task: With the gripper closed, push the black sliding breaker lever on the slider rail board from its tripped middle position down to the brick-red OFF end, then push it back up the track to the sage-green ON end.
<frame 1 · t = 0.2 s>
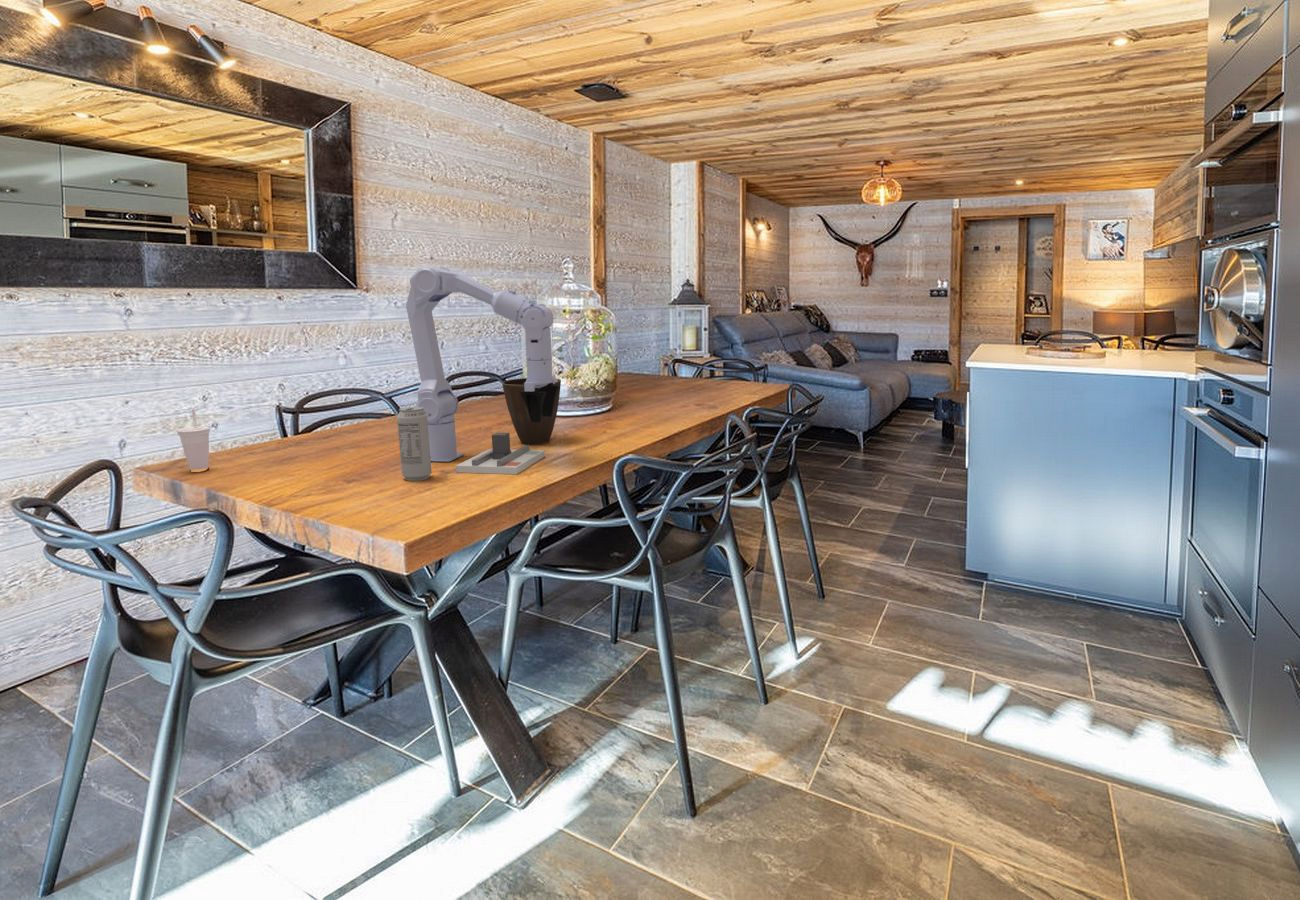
hand: (541, 419, 175), 10 cm above the table, fingers open, 7 cm apart
plant pot: (534, 442, 199), on the table
slider rail board: (502, 464, 174), on the table
energy drink can: (417, 479, 162), on the table
breaker lever: (501, 445, 173), point 4 cm above the table, slide at 6.0 cm
smoothie: (199, 471, 173), on the table
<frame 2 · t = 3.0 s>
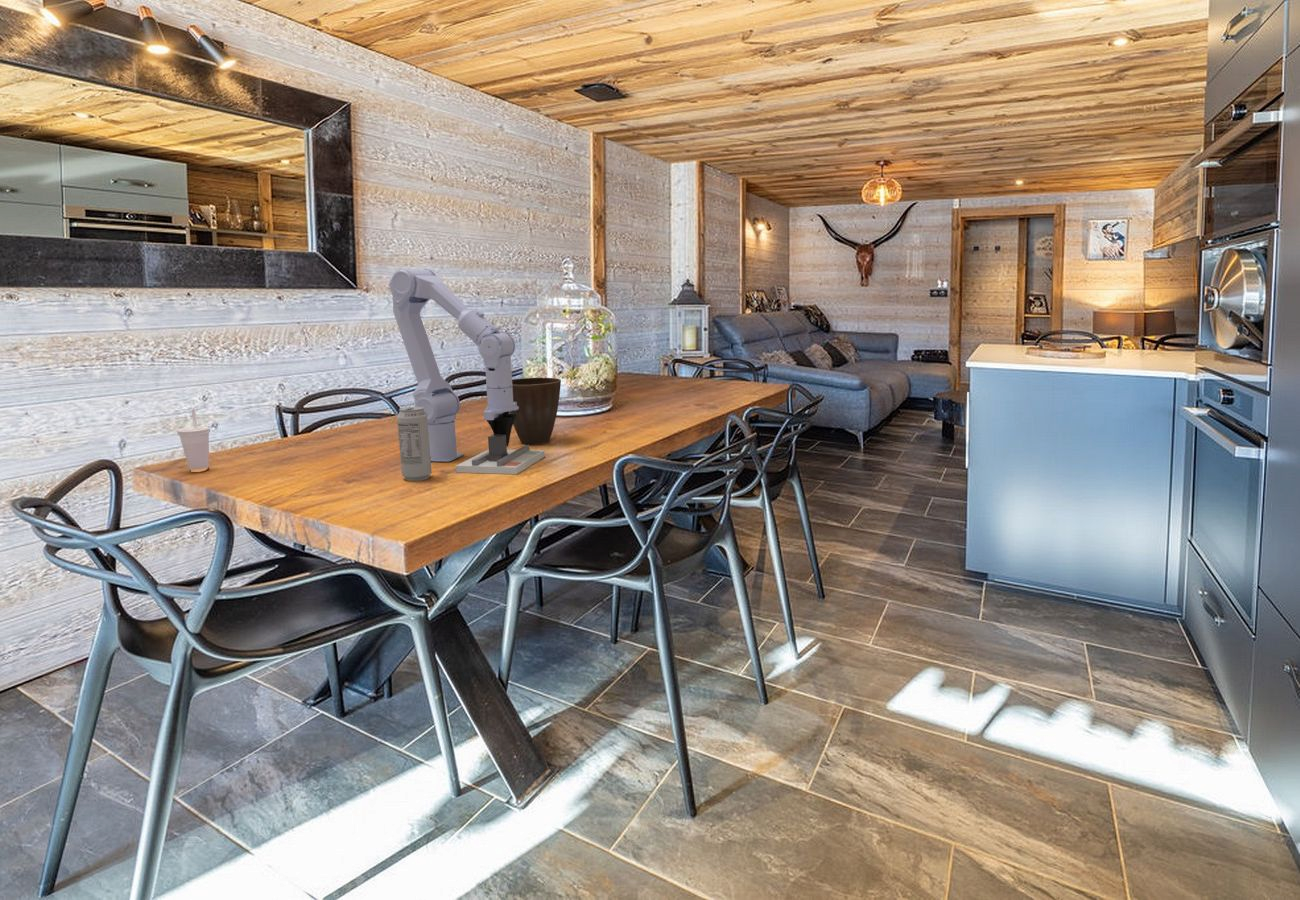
hand: (503, 446, 174), 4 cm above the table, fingers closed
breaker lever: (497, 447, 171), point 4 cm above the table, slide at 4.0 cm, touching gripper
everything else where it was.
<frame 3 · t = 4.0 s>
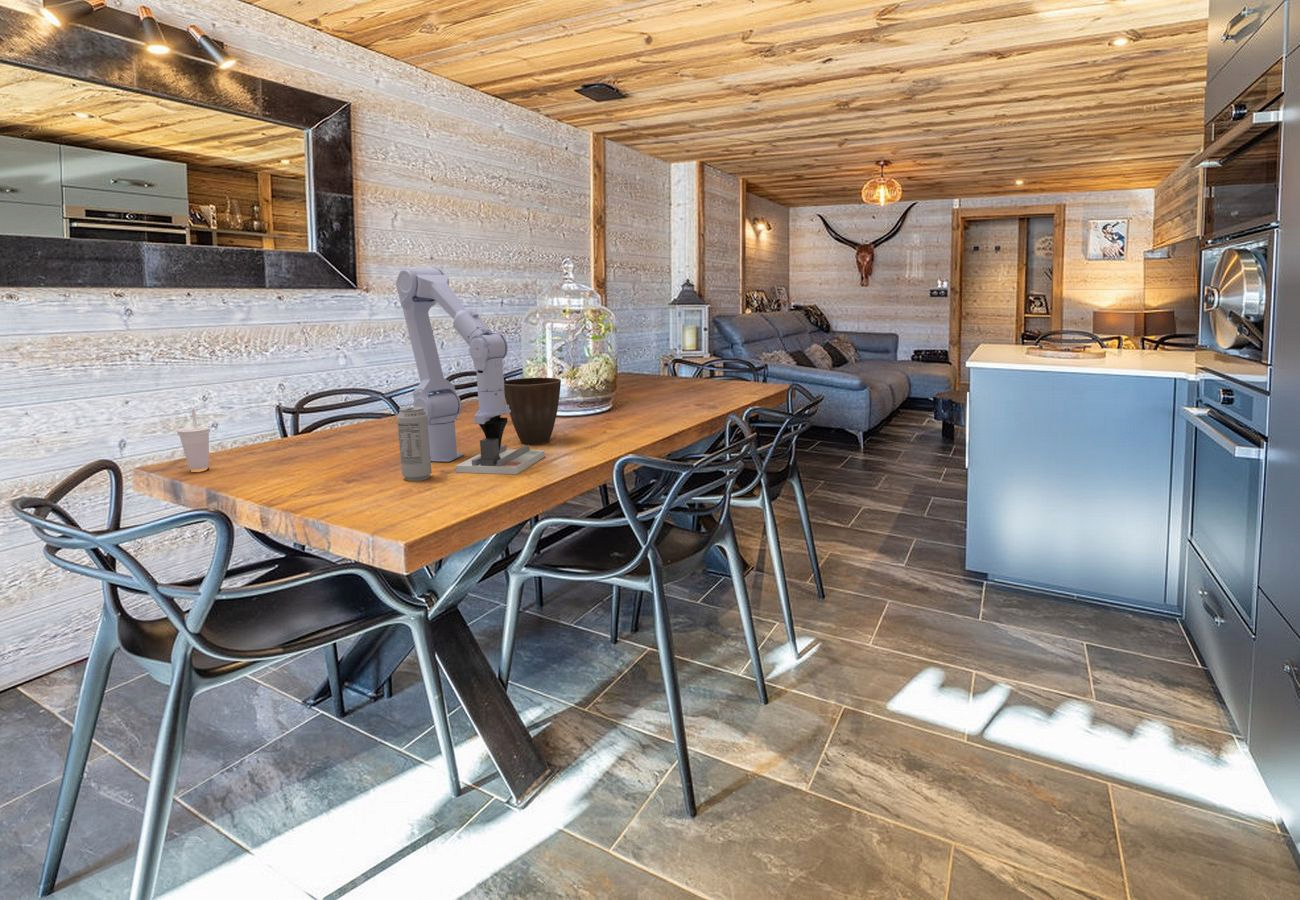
hand: (494, 450, 170), 4 cm above the table, fingers closed
breaker lever: (489, 451, 167), point 4 cm above the table, slide at -0.3 cm, touching gripper
everything else where it was.
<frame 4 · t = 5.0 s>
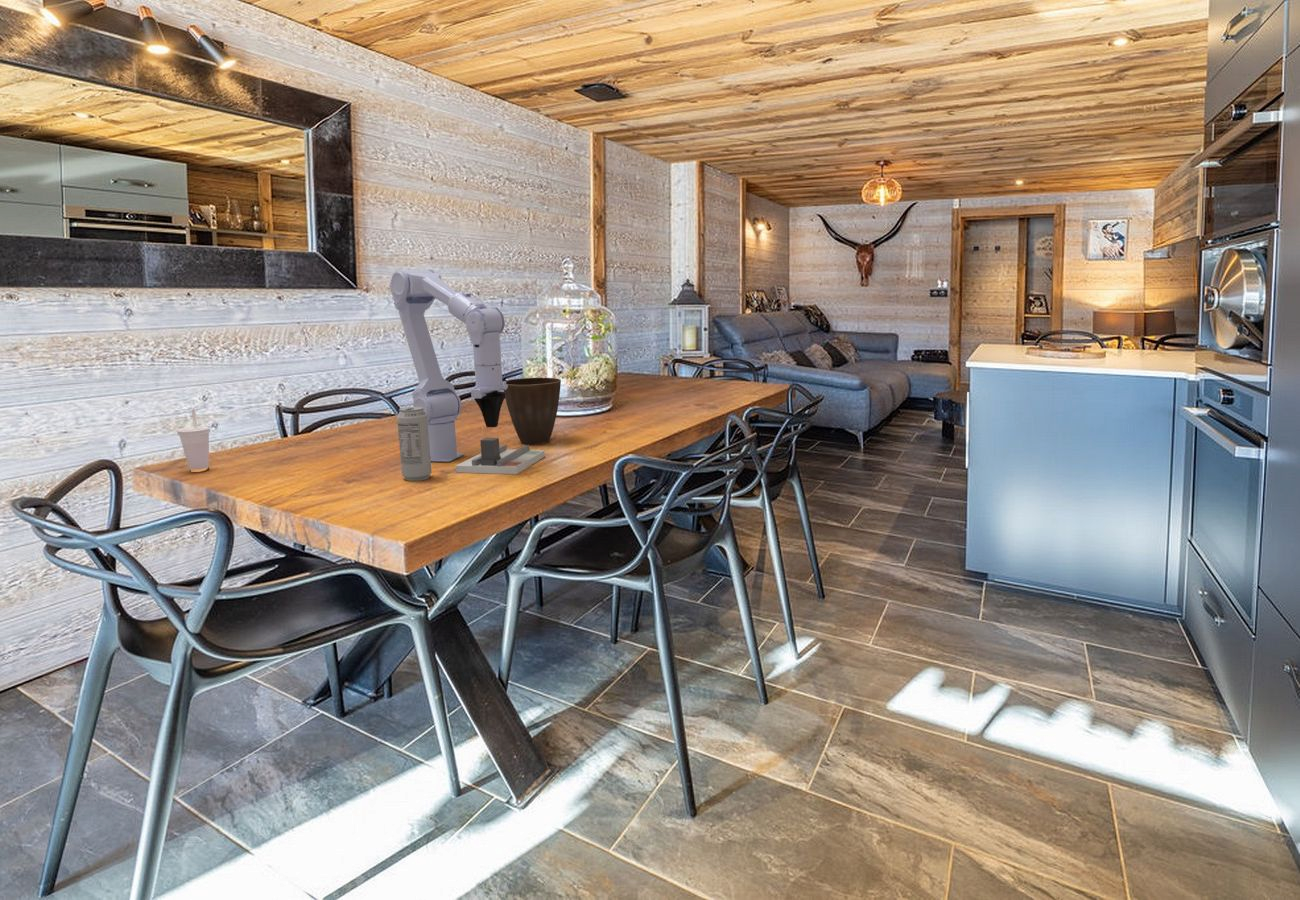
hand: (491, 426, 168), 9 cm above the table, fingers closed
breaker lever: (490, 451, 167), point 4 cm above the table, slide at -0.1 cm
everything else where it was.
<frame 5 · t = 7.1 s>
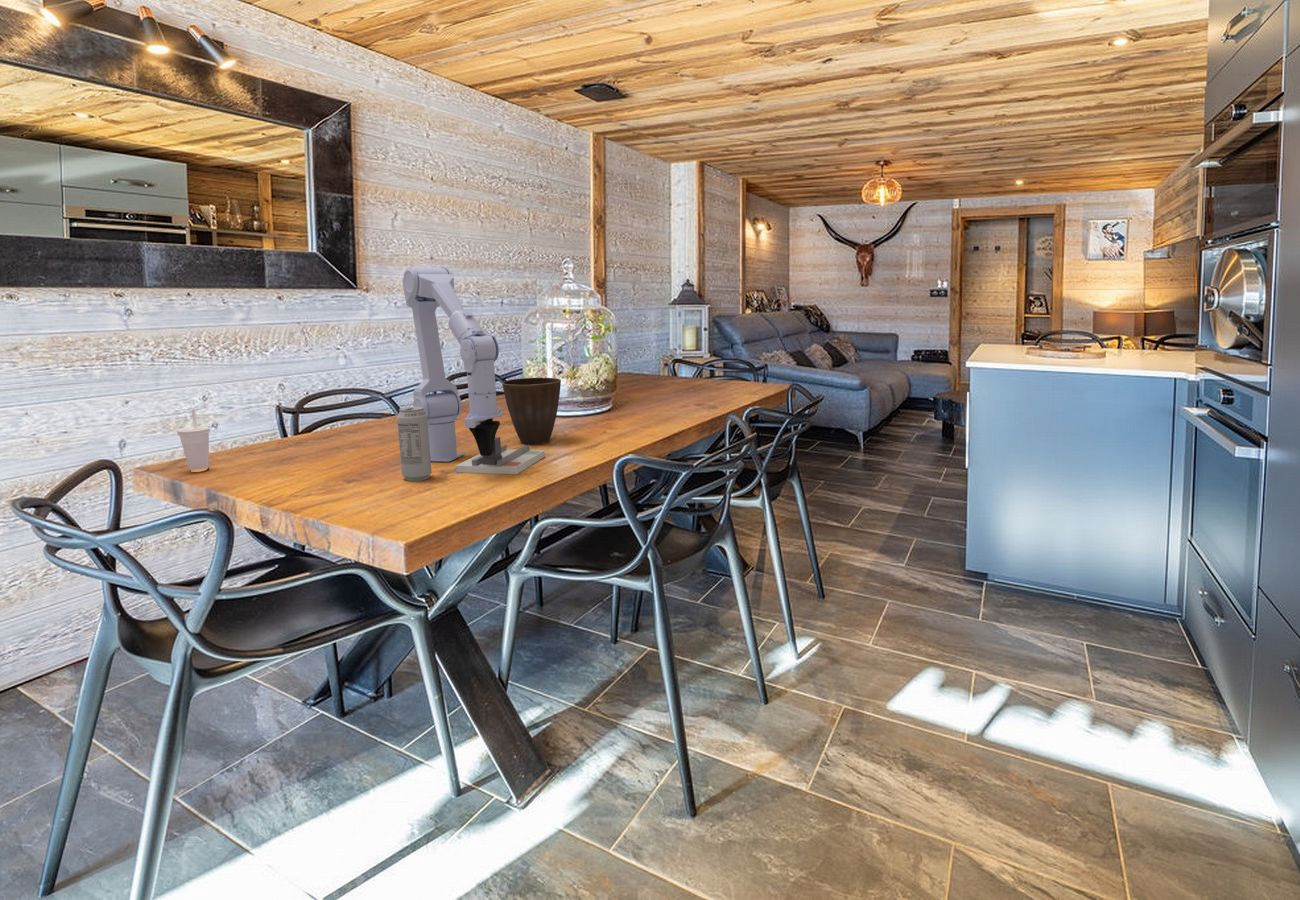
hand: (486, 455, 165), 4 cm above the table, fingers closed
breaker lever: (491, 450, 168), point 4 cm above the table, slide at 0.8 cm, touching gripper
everything else where it was.
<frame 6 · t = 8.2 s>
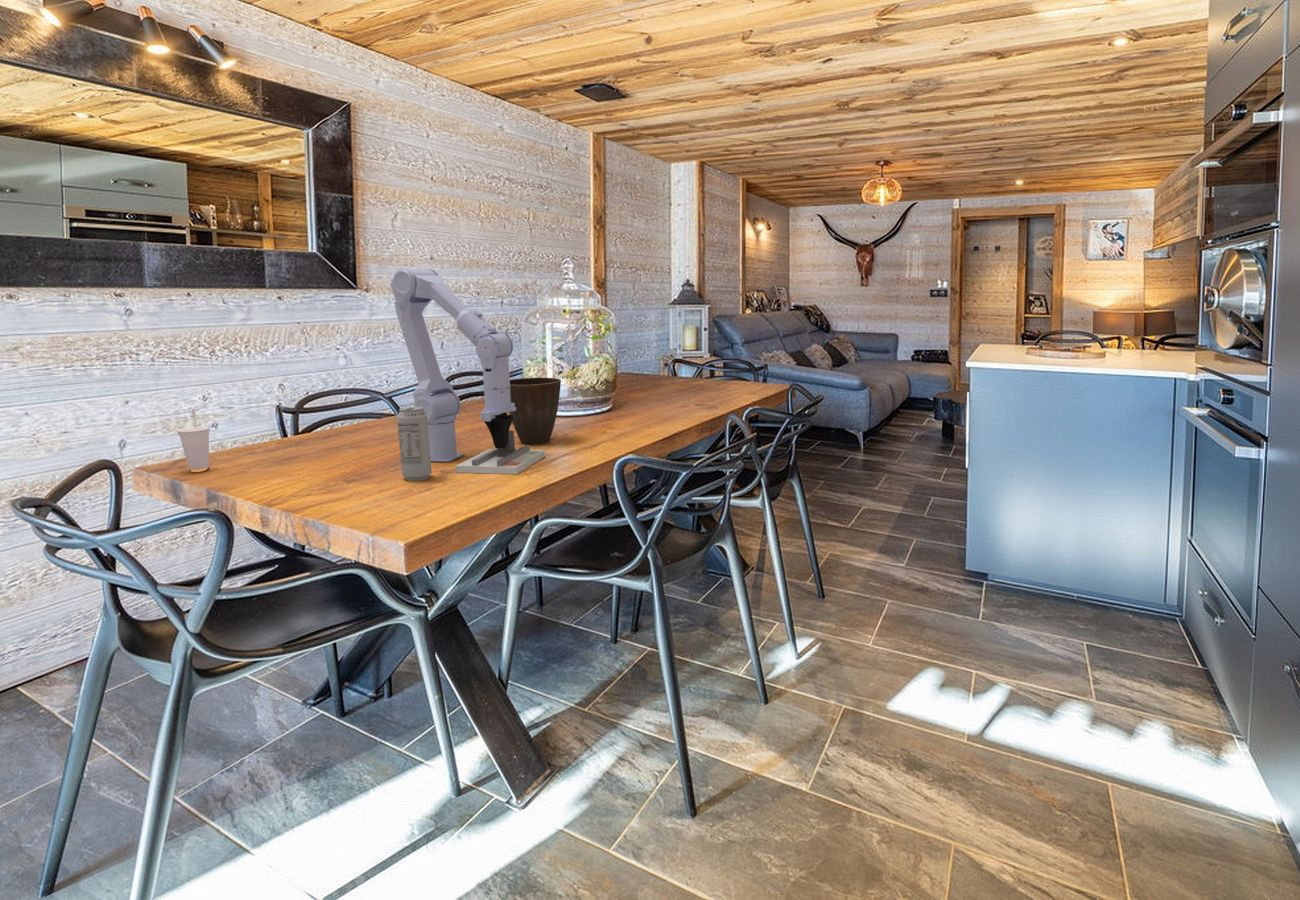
hand: (500, 447, 173), 4 cm above the table, fingers closed
breaker lever: (505, 443, 176), point 4 cm above the table, slide at 8.7 cm, touching gripper
everything else where it was.
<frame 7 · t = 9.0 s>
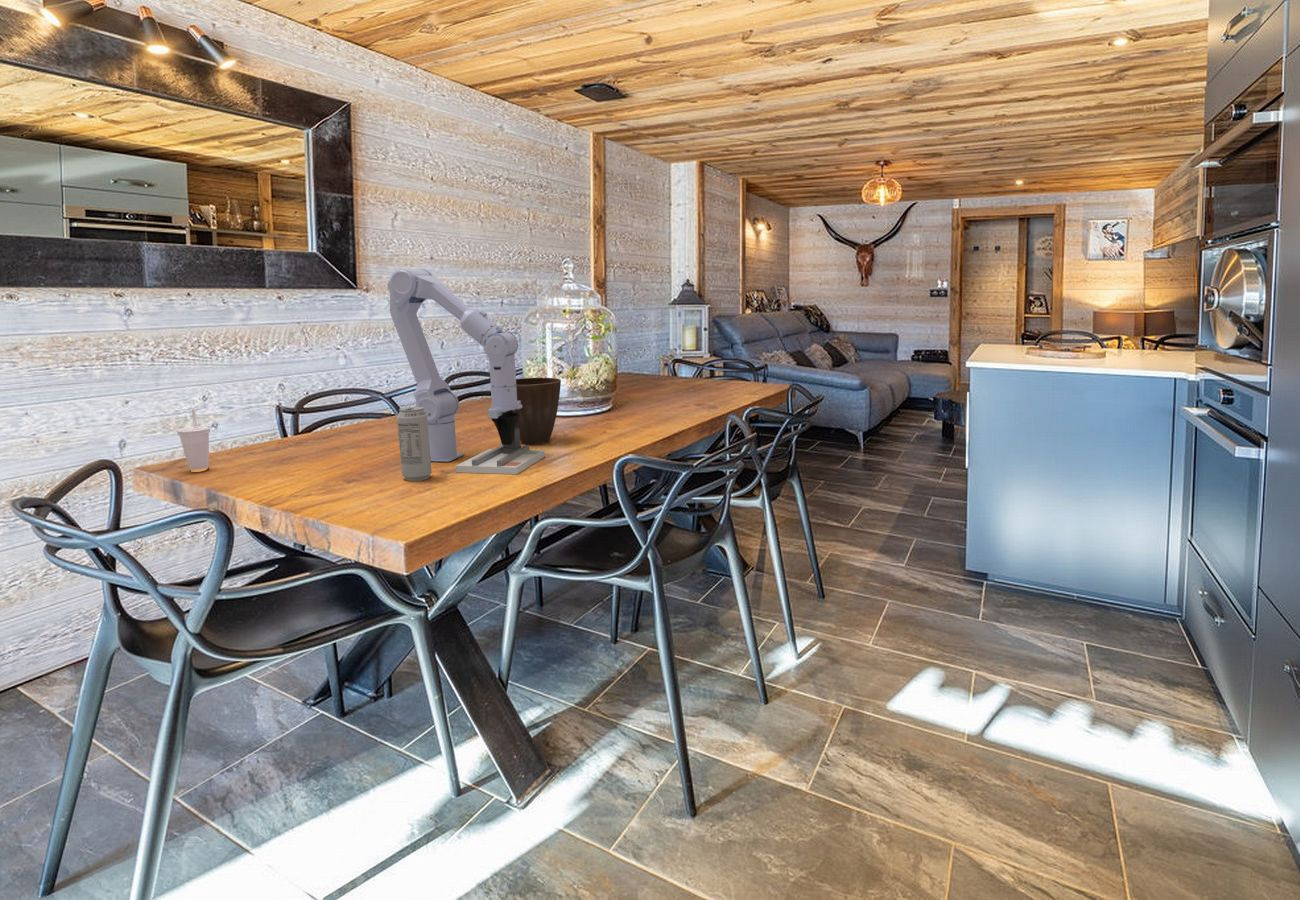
hand: (507, 444, 176), 4 cm above the table, fingers closed
breaker lever: (511, 440, 179), point 4 cm above the table, slide at 12.2 cm, touching gripper
everything else where it was.
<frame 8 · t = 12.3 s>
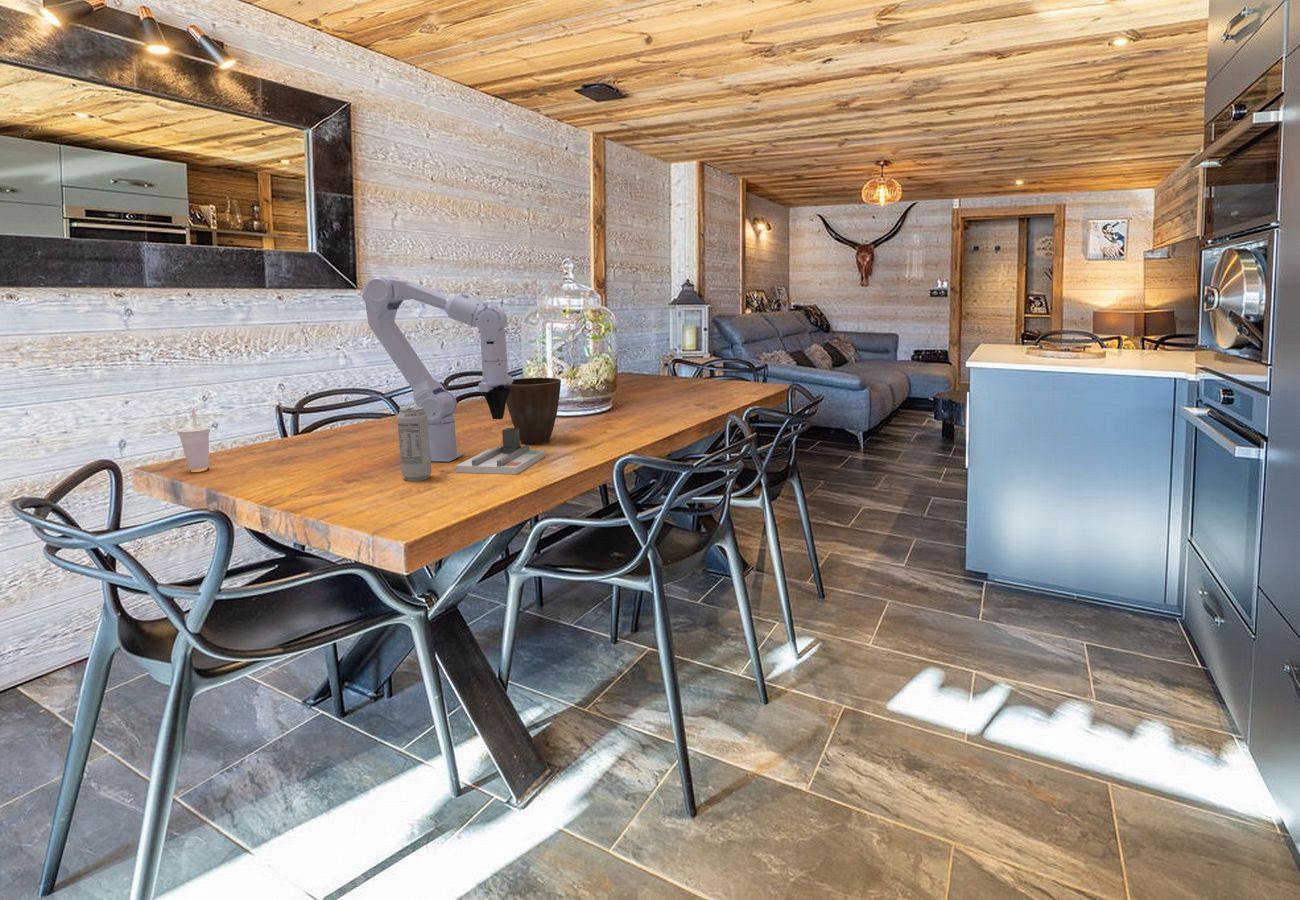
hand: (497, 418, 178), 9 cm above the table, fingers closed
breaker lever: (511, 440, 179), point 4 cm above the table, slide at 12.1 cm
everything else where it was.
at the end: breaker lever slide at 12.1 cm; energy drink can tilted 0° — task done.
